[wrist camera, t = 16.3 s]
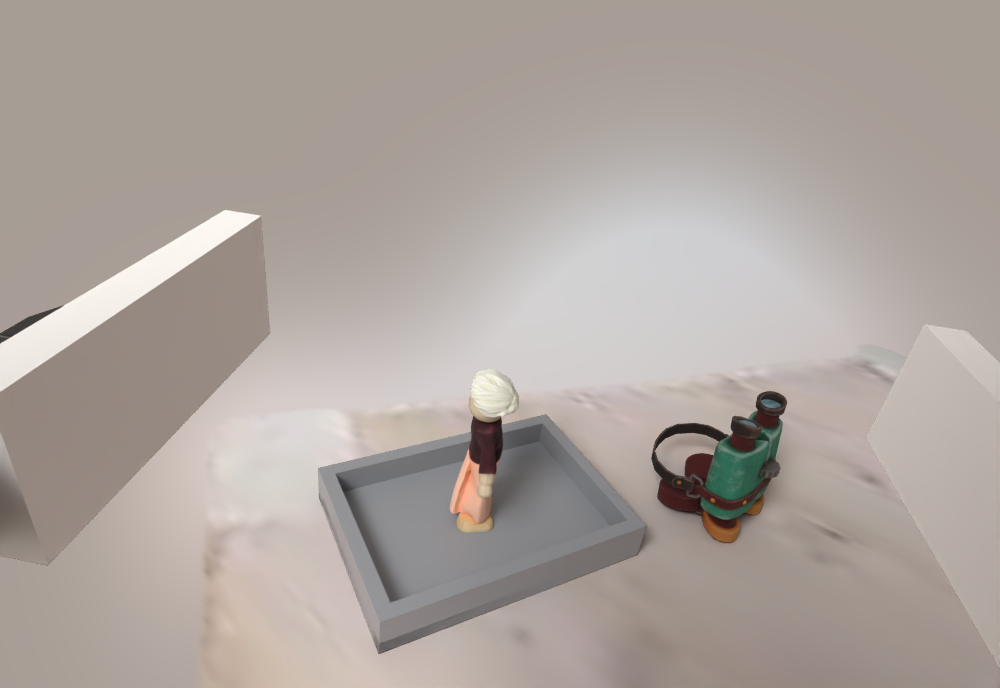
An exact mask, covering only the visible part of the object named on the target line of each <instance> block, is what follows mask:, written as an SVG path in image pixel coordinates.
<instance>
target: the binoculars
mask: <svg viewBox="0 0 1000 688" xmlns="http://www.w3.org/2000/svg"><path fill="white" fill-rule="evenodd" d="M786 405H787V400H786V398H785V397H784V396H783V395H781V394H779V393H777V392H772V391H767V392H763V393H761V394H759V395H758V397H757V402H756V408H757V409H758V411H755V412H753V413H752V414H751V416H750V417H749V419H747V418H744V417H740V416H733V417H732V423H731V430H732V431H733V433H732V435H730V436H729V435H728V434H724V433H723V432H721V431H720V430H718V429H715V428H713V427H711V426H709V425H704V424H698V423H686V424H676V425H674V426H671V427H669V428H666V429H665V430H664V431H663V432H662V433H661V434H660V435H659V436H658V438H657V439H656V441H655V444H654V448H653V453H652V462H653V466H654V469H655V471H656V472H657V473H658V474H659V475H660V476H661V478H662V480H661V481H660V484H659V490H658V499H659V500H660V501H661V502H662V503H663V504H665V505H667V506H669V507H671V508H674V509H678V510H683V511H695V512H697V513H699V514H703V516H702V521H703V524H704V526H705V528H706V530H707V531H708V533H709V534H710V535H711V536H713V537H714V538H715V539H717V540H719V541H722V542H733V541H735V540H736V538H737V536H738V533H739V530H740V521H739V519H738V518H737V517H738V516H740V515H741V514H743V513H744V512H745V513H748V514H758V513H759V512H760V511H761V508H762V505H763V503H764V496H763V493H764V491H765V490H766V488H767V486H768V483H769V482H770V480H771V478H773V477H776V476H777V475H778V474H779V470H780V466H779V463H778V462H776V460H775V457H776V452H777V448H778V444H779V439H780V435H781V431H782V421H781V420H780V419H779V416H780V415H782V414H783V413H784V411H785V408H786ZM682 433H697V434H703V435H707V436H709V437H711V438H713V439H716V440H717V441H719V443H718V445H717V447H716V449H715V453H714V456H713V455H710V454H703V453H700V454H694V455H692V456H690V457H688V458H687V460H686V463H685V476H686V477H683V476H677V475H675V474H673V473H672V472H670V471H668V470H666V469H665V467H664V466H663V465H662V464H661V463H660V462H659V461H658V459H657V456H656V452H655V450H656V448H657V447H658V445H659V444H660V443H661V442H662V441H663V440H664V439H665V438H668V437H670V436H672V435H675V434H682ZM697 486H699V487H697ZM701 506H702V508H703V509H702V508H701Z"/></svg>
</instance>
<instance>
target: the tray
mask: <svg viewBox="0 0 1000 688" xmlns="http://www.w3.org/2000/svg"><path fill="white" fill-rule="evenodd" d="M502 432H503V434H502V437H503V450H502V455H501V457H500V460H499V464H498V468H497V472H496V476H495V479H494V482H493V484H492V490H493V491H492V495H491V497H492V499H493V504H492V506H491V510H490V514H489V515H491V517H492V518H493V521H494V526H493V528H492V529H491V530H490V531H487V532H477V533H465V532H462V531H461V530H460V529H459V528H458V527H457V517H458V515H459V514H460V513H461V512H458V513H456V514H453V513H451V511H450V503H451V498H452V494H453V491H454V487H455V484H456V482H457V479H458V476H459V473H460V470H461V467H462V465H463V462H464V460H465V458H466V455H467V451H468V449H469V445H470V441H471V432H469V433H465V434H461V435H457V436H453V437H448V438H444V439H440V440H436V441H431V442H427V443H423V444H419V445H414V446H410V447H406V448H402V449H397V450H393V451H389V452H385V453H380V454H376V455H372V456H368V457H363V458H359V459H355V460H351V461H346V462H342V463H338V464H334V465H329V466H325V467H321V468H318V480H319V499H320V502H321V504H322V507H323V509H324V512H325V515H326V517H327V520H328V522H329V525H330V528H331V530H332V533H333V536H334V538H335V541H336V543H337V546H338V549H339V551H340V554H341V557H342V559H343V562H344V564H345V567H346V570H347V572H348V575H349V578H350V580H351V583H352V585H353V588H354V591H355V593H356V596H357V598H358V601H359V604H360V606H361V609H362V612H363V614H364V617H365V619H366V622H367V625H368V627H369V630H370V633H371V635H372V638H373V640H374V643H375V646H376V648H377V651H378V654H380V653H383V652H385V651H388V650H391V649H393V648H396V647H398V646H401V645H404V644H406V643H409V642H411V641H414V640H417V639H419V638H422V637H424V636H427V635H430V634H432V633H435V632H437V631H440V630H443V629H445V628H448V627H450V626H453V625H456V624H458V623H461V622H463V621H466V620H469V619H471V618H474V617H476V616H479V615H482V614H484V613H487V612H489V611H492V610H495V609H497V608H500V607H502V606H505V605H508V604H510V603H513V602H515V601H518V600H521V599H523V598H526V597H528V596H531V595H534V594H536V593H539V592H541V591H544V590H547V589H549V588H552V587H554V586H557V585H560V584H562V583H565V582H568V581H570V580H573V579H575V578H578V577H581V576H583V575H586V574H588V573H591V572H594V571H596V570H599V569H601V568H604V567H607V566H609V565H612V564H614V563H617V562H620V561H622V560H625V559H627V558H630V557H633V556H635V555H638V552H639V549H640V546H641V543H642V539H643V536H644V533H645V530H646V527H647V525H646V524H645V523H644V522H643V521H642V520H641V519H640V518H639V517H638V515H637V514H636V513H635V512H634V511H633V510H632V509H631V508H630V507H629V505H628V504H627V503H626V502H625V501H624V500H623V499H622V498H621V497H620V495H619V494H618V493H617V492H616V491H615V490H614V489H613V488H612V487H611V486H610V484H609V483H608V482H607V481H606V480H605V479H604V478H603V477H602V476H601V474H600V473H599V472H598V471H597V470H596V469H595V468H594V467H593V466H592V464H591V463H590V462H589V461H588V460H587V459H586V458H585V457H584V456H583V455H582V453H581V452H580V451H579V450H578V449H577V448H576V447H575V446H574V445H573V443H572V442H571V441H570V440H569V439H568V438H567V437H566V436H565V435H564V433H563V432H562V431H561V430H560V429H559V428H558V427H557V426H556V425H555V424H554V422H553V421H552V420H551V419H550V418H549V417H548V416H547V415H542V416H537V417H533V418H529V419H525V420H520V421H516V422H512V423H508V424H503V425H502Z"/></svg>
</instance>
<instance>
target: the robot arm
mask: <svg viewBox="0 0 1000 688" xmlns="http://www.w3.org/2000/svg"><path fill="white" fill-rule="evenodd" d="M267 299H268V298H267V285H266V272H265V259H264V247H263V233H262V220H261V216H258V215H252V214H246V213H240V212H233V211H228V210H225V211H223V212H221V213H219V214H218V215H216V216H214V217H213V218H211V219H209V220H208V221H206V222H204V223H203V224H201V225H199V226H198V227H196V228H194V229H193V230H191V231H189V232H187V233H186V234H184V235H183V236H181V237H179V238H177V239H176V240H174V241H172V242H171V243H169V244H167V245H166V246H164V247H162V248H160V249H159V250H157V251H155V252H154V253H152V254H150V255H149V256H147V257H145V258H144V259H142V260H140V261H139V262H137V263H135V264H134V265H132V266H130V267H129V268H127V269H125V270H123V271H122V272H120V273H118V274H117V275H115V276H113V277H112V278H110V279H108V280H107V281H105V282H103V283H102V284H100V285H98V286H97V287H95V288H93V289H91V290H90V291H88V292H87V293H85V294H83V295H81V296H80V297H78V298H76V299H75V300H73V301H71V302H70V303H68V304H66V305H63V306H60V307H57V308H54V309H52V310H49V311H45V312H42V313H39V314H36V315H33V316H31V317H28V318H26V319H24V320H23V321H21V322H19V323H17V324H16V325H14V326H13V327H11V328H9V329H7V330H5V331H3V332H2V333H0V556H2V557H7V558H12V559H17V560H21V561H27V562H31V563H36V564H41V565H46V566H48V565H49V564H50V563H51V562H52V561H53V560H54V559H55V558H56V557H57V556H58V555H59V554H60V553H61V552H62V551H63V550H64V549H65V548H66V546H67V545H68V544H69V543H70V542H71V541H72V540H73V539H74V538H75V537H76V536H77V535H78V534H79V533H80V532H81V531H82V530H83V528H85V527H86V525H88V523H89V522H90V521H91V520H92V519H93V518H94V517H95V516H96V515H97V514H98V513H99V512H100V511H101V510H102V509H103V508H104V507H105V506H106V504H108V503H109V501H110V500H111V499H112V498H113V497H114V496H115V495H116V494H117V493H118V492H119V491H120V490H121V489H122V488H123V487H124V486H125V485H126V484H127V483H128V482H129V480H131V479H132V477H133V476H134V475H135V474H136V473H137V472H138V471H139V470H140V469H141V468H142V467H143V466H144V465H145V464H146V463H147V462H148V461H149V460H150V459H151V458H152V457H153V456H154V454H155V453H156V452H157V451H158V450H159V449H160V448H161V447H162V446H163V445H164V444H165V443H166V442H167V441H168V440H169V439H170V438H171V436H173V434H175V433H176V431H177V430H178V429H179V428H180V427H181V426H182V425H183V424H184V423H185V422H186V421H187V420H188V419H189V418H190V417H191V416H192V415H193V413H195V412H196V411H197V410H198V408H199V407H200V406H201V405H202V404H203V403H204V402H205V401H206V400H207V399H208V398H209V397H210V396H211V395H212V394H213V393H214V392H215V391H216V390H217V388H219V387H220V385H221V384H222V383H223V382H224V381H225V380H226V379H227V378H228V377H229V376H230V375H231V374H232V373H233V372H234V371H235V370H236V368H237V367H239V365H240V364H241V363H242V362H243V361H244V360H245V359H246V358H247V357H248V356H249V355H250V354H251V353H252V352H253V351H254V350H255V349H256V348H257V347H258V346H259V345H260V344H261V342H262V341H263V340H264V339H265V338H266V337H267V336H268V335H269V334H270V325H269V312H268V300H267ZM866 439H867V441H868V442H869V444H870V446H871V448H872V449H873V451H874V453H875V454H876V456H877V458H878V460H879V461H880V463H881V465H882V466H883V468H884V470H885V472H886V473H887V475H888V477H889V479H890V480H891V482H892V484H893V485H894V487H895V489H896V491H897V492H898V494H899V496H900V497H901V499H902V501H903V503H904V504H905V506H906V508H907V509H908V511H909V513H910V515H911V516H912V518H913V520H914V522H915V523H916V525H917V527H918V528H919V530H920V532H921V534H922V535H923V537H924V539H925V540H926V542H927V544H928V546H929V547H930V549H931V551H932V553H933V554H934V556H935V558H936V559H937V561H938V563H939V565H940V566H941V568H942V570H943V571H944V573H945V575H946V577H947V578H948V580H949V582H950V583H951V585H952V587H953V589H954V590H955V592H956V594H957V596H958V597H959V599H960V601H961V602H962V604H963V606H964V608H965V609H966V611H967V613H968V614H969V616H970V618H971V620H972V621H973V623H974V625H975V626H976V628H977V630H978V632H979V633H980V635H981V637H982V639H983V640H984V642H985V644H986V645H987V647H988V649H989V651H990V652H991V654H992V656H993V657H994V659H995V661H996V663H997V664H998V666H999V668H1000V363H999V362H998V361H997V360H996V359H995V358H994V357H993V356H992V355H991V354H990V353H989V352H988V351H986V349H984V348H983V347H982V346H981V345H980V344H979V343H978V342H977V341H976V340H975V339H974V338H973V337H972V336H971V335H970V334H969V333H968V332H967V331H963V330H956V329H951V328H945V327H939V326H933V325H926V324H924V326H923V328H922V330H921V332H920V334H919V336H918V338H917V340H916V342H915V344H914V346H913V348H912V350H911V352H910V353H909V355H908V357H907V359H906V361H905V363H904V365H903V367H902V369H901V371H900V373H899V375H898V377H897V379H896V380H895V382H894V384H893V386H892V388H891V390H890V392H889V394H888V396H887V398H886V400H885V402H884V404H883V406H882V408H881V410H880V412H879V413H878V415H877V417H876V419H875V421H874V423H873V425H872V427H871V429H870V431H869V433H868V435H867V437H866Z"/></svg>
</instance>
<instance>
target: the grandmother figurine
mask: <svg viewBox="0 0 1000 688" xmlns="http://www.w3.org/2000/svg"><path fill="white" fill-rule="evenodd" d="M471 386H472V387H471V396H470V399H469V407H470V411H471V413H472V414H473V420H472V424H471V441H470V445H469V449H468V451H467V455H466V458H465V460H464V462H463V465H462V467H461V470H460V473H459V476H458V479H457V482H456V484H455V487H454V491H453V494H452V498H451V503H450V511H451V513H453V514H456V513H458V512H461V513H460V514H459V515H458V517H457V527H458V528H459V529H460V530H461V531H462V532H465V533H477V532H487V531H490V530H491V529H492V528H493V526H494V521H493V518H492V517H491V515H489V514H490V510H491V506H492V504H493V499H492V497H491V495H492V491H493V490H492V484H493V482H494V479H495V476H496V472H497V468H498V464H499V460H500V457H501V455H502V450H503V437H502V434H503V432H502V420H501V417H504V416H505V415H506V414H512V413H514V412H515V411H516V410H517V409H518V403H519V396H518V393H517V392H516V390H515V388H514V386H513V383H512V381H511V380H510V379H509V378H508V377H507V376H505V375H503V374H502V373H500V372H499V371H497V370H494V369H484V370H481V371H478V372H477V374H476V375H475V377H474V380H473V382H472V385H471Z"/></svg>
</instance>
